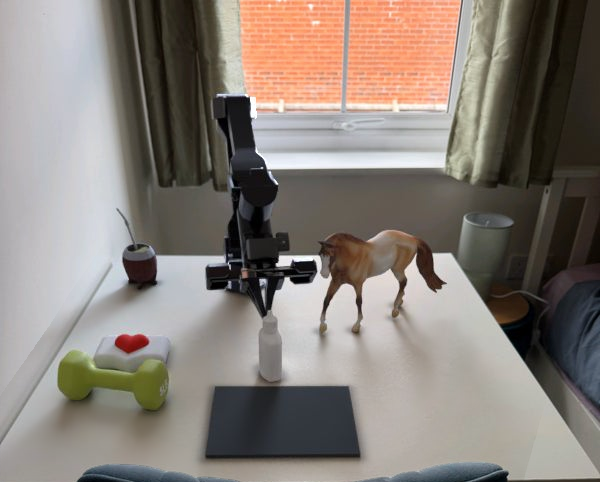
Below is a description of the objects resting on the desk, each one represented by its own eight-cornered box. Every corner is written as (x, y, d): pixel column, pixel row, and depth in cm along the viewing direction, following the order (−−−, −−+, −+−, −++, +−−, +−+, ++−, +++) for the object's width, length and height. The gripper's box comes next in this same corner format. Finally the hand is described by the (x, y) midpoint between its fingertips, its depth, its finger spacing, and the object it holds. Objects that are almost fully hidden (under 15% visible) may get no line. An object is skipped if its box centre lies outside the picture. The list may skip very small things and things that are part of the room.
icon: (85, 355, 98) (99, 325, 106) (90, 377, 100) (104, 346, 108) (161, 355, 98) (169, 325, 106) (164, 377, 101) (172, 346, 109)
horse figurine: (319, 350, 109) (324, 241, 97) (296, 332, 114) (298, 226, 102) (443, 309, 123) (461, 209, 111) (417, 295, 128) (432, 198, 116)
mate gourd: (155, 290, 127) (146, 221, 118) (118, 289, 127) (106, 220, 118) (162, 275, 133) (154, 208, 124) (127, 274, 133) (116, 207, 124)
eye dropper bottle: (285, 366, 104) (286, 304, 97) (280, 384, 100) (280, 320, 93) (260, 363, 105) (259, 302, 98) (254, 381, 100) (253, 318, 93)
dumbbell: (175, 391, 98) (170, 353, 93) (156, 420, 91) (150, 381, 87) (81, 378, 100) (73, 341, 96) (57, 406, 93) (46, 367, 89)
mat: (215, 389, 98) (214, 386, 98) (348, 388, 99) (348, 385, 99) (205, 458, 84) (205, 455, 84) (360, 457, 85) (360, 454, 85)
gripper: (201, 216, 94) (211, 311, 91) (317, 210, 97) (330, 302, 95) (201, 245, 105) (210, 331, 102) (305, 239, 108) (317, 323, 105)
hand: (266, 322), depth 101 cm, fingers closed
